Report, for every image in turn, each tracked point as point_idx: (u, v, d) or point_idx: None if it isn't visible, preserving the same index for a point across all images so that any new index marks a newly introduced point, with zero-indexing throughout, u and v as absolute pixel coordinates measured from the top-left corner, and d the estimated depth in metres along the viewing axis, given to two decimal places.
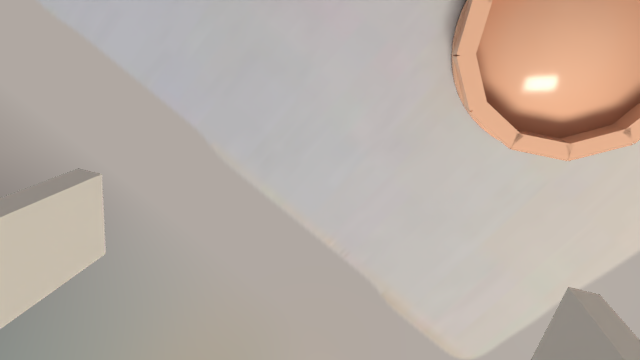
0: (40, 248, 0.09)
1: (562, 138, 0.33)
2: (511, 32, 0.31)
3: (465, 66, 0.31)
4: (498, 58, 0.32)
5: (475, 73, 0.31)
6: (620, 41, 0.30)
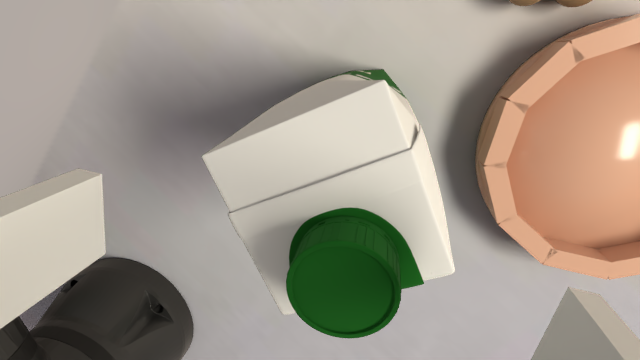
0: (40, 248, 0.09)
1: None
2: (582, 213, 0.29)
3: (623, 271, 0.28)
4: (610, 223, 0.29)
5: (635, 262, 0.27)
6: (623, 105, 0.26)
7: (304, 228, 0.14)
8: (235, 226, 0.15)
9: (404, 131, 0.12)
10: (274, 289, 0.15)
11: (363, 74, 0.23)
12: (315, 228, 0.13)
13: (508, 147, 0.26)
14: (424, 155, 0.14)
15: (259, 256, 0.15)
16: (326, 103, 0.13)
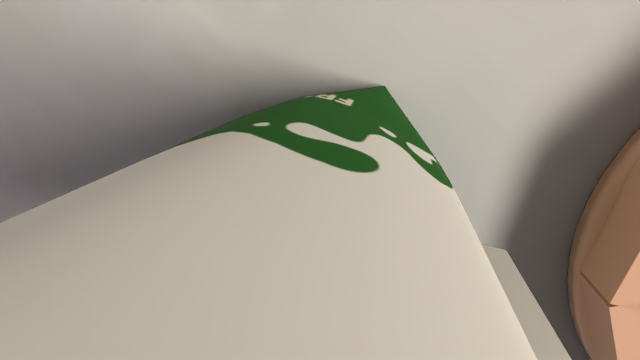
0: None
1: None
2: None
3: None
4: None
5: None
6: None
7: None
8: None
9: None
10: None
11: (325, 113, 0.08)
12: None
13: None
14: None
15: None
16: None
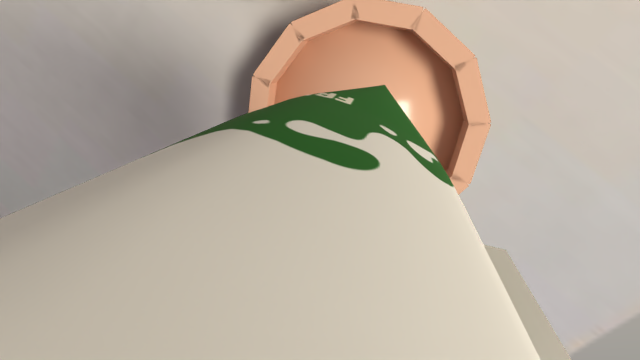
0: None
1: (463, 119, 0.28)
2: None
3: None
4: None
5: None
6: (361, 81, 0.29)
7: None
8: None
9: None
10: None
11: (325, 111, 0.08)
12: None
13: None
14: None
15: None
16: None
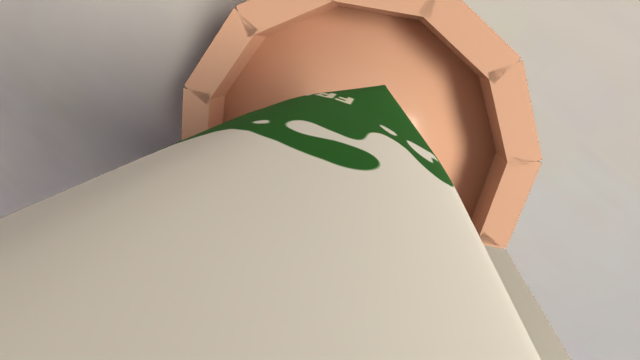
0: None
1: (496, 151, 0.19)
2: None
3: None
4: None
5: None
6: None
7: None
8: None
9: None
10: None
11: (325, 111, 0.08)
12: None
13: None
14: None
15: None
16: None
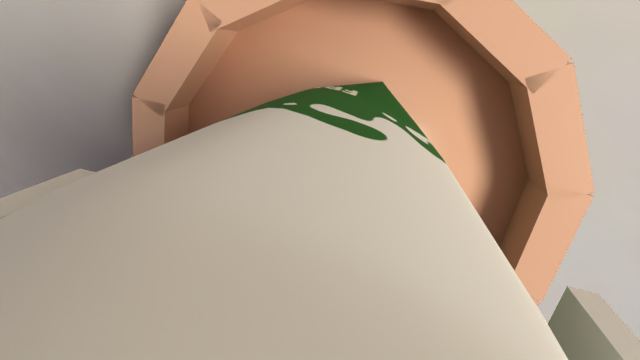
0: None
1: (530, 177, 0.15)
2: None
3: None
4: None
5: None
6: None
7: None
8: None
9: None
10: None
11: (337, 99, 0.09)
12: None
13: None
14: None
15: None
16: None
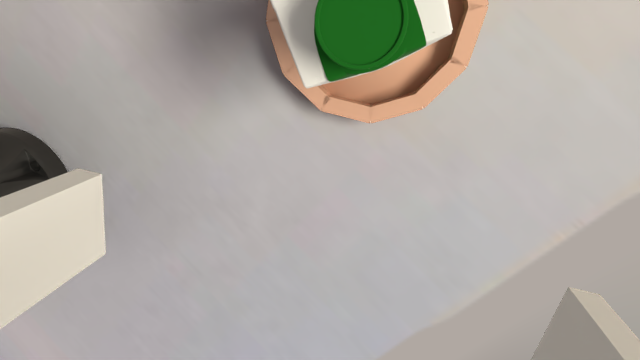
0: (40, 248, 0.09)
1: (464, 8, 0.31)
2: None
3: (380, 115, 0.34)
4: (377, 79, 0.35)
5: (387, 106, 0.34)
6: None
7: None
8: None
9: None
10: (299, 59, 0.18)
11: None
12: None
13: None
14: None
15: (289, 26, 0.18)
16: None
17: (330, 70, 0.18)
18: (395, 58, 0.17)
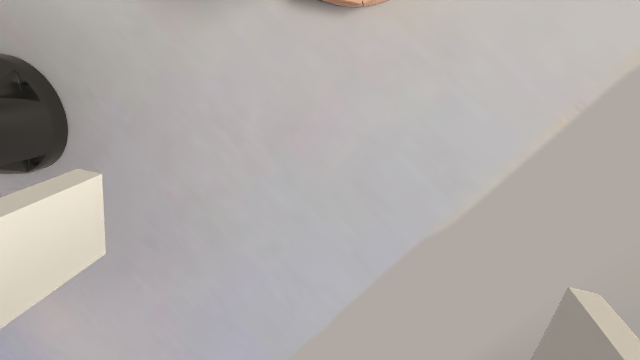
0: (40, 248, 0.09)
1: None
2: None
3: None
4: None
5: None
6: None
7: None
8: None
9: None
10: None
11: None
12: None
13: None
14: None
15: None
16: None
17: None
18: None
